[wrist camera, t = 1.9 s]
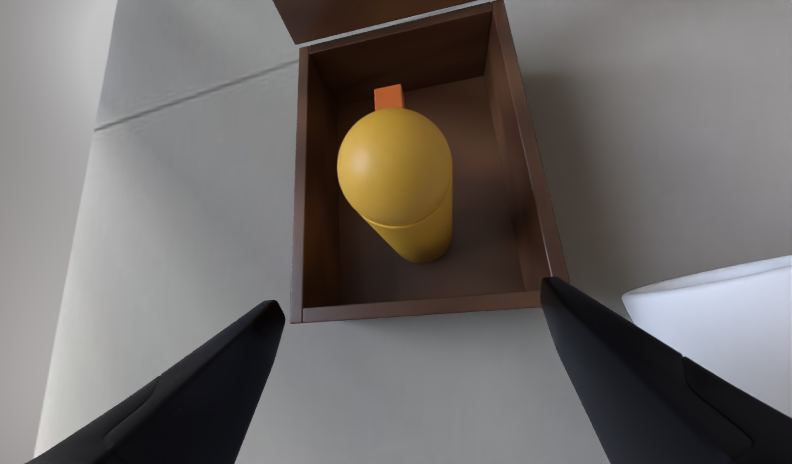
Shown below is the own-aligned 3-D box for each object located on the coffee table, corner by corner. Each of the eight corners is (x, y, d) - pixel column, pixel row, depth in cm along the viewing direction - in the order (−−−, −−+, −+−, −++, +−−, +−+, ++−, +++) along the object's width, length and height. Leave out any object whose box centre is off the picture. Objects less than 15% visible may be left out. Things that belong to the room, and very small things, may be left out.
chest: (537, 305, 19) (576, 304, 13) (334, 319, 21) (288, 324, 15) (491, 73, 24) (503, -3, 18) (333, 105, 27) (298, 47, 21)
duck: (456, 260, 20) (461, 191, 8) (393, 266, 21) (315, 211, 9) (446, 182, 22) (438, 32, 10) (388, 191, 22) (317, 60, 11)
